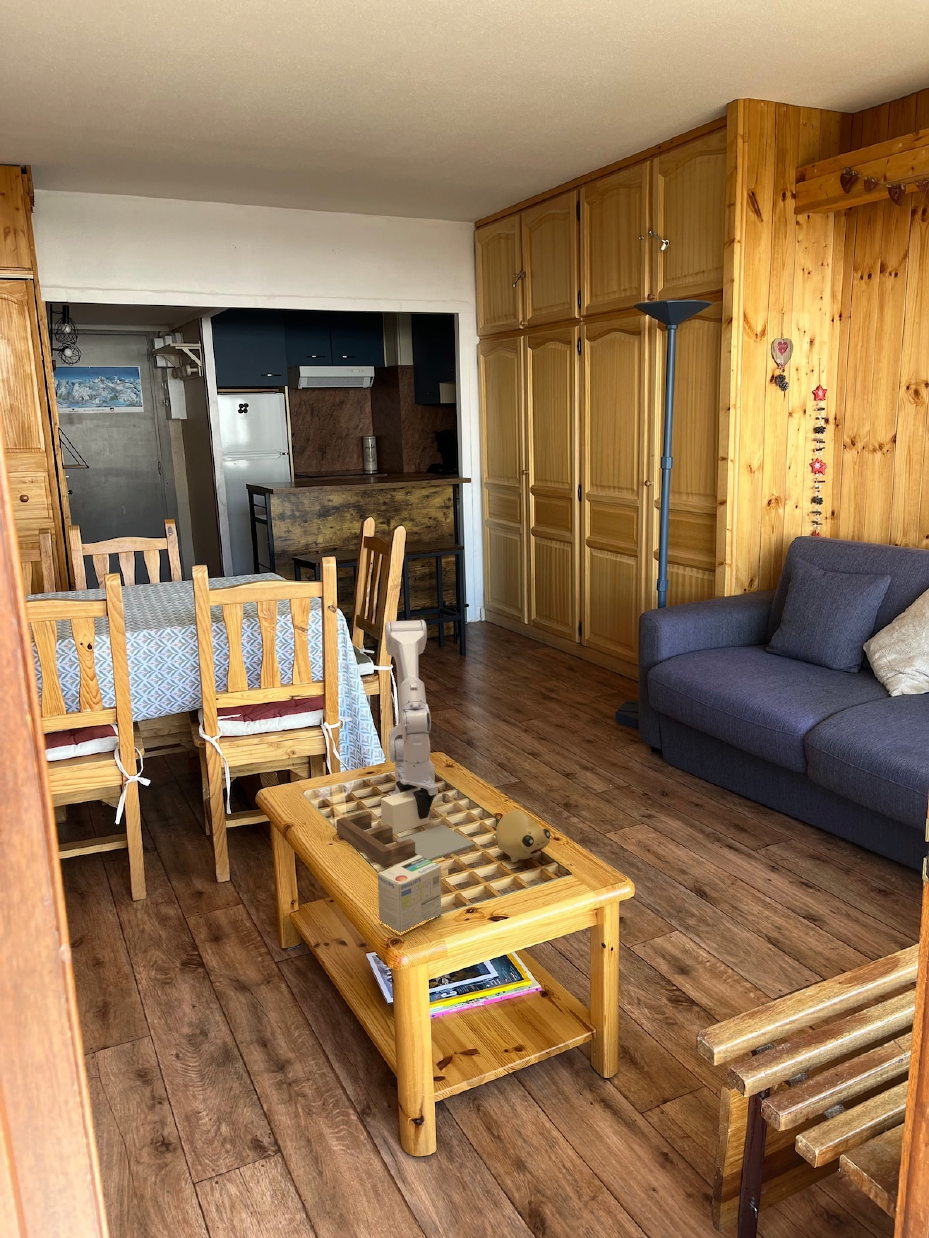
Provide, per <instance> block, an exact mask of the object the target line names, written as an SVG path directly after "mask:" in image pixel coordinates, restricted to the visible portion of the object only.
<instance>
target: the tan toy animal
mask: <svg viewBox="0 0 929 1238" xmlns="http://www.w3.org/2000/svg"><path fill="white" fill-rule="evenodd" d="M495 836H496V840H497V841H496V842H497V843H498V845H497V848H498V849H499V850H500V851H501V850H502V852H503V853H504V854H506V855H507V856H508V857H510V861H511V863H513V862H516V861H517V862H518V861H519V860H528V859H531V858H533V856H534V855H535V854H536V855H537V854H538V853H539V852H540V851H542V850H544V849H545V848H547V846H548V845H549V844H550V840H551V832H550V830H549V829H548V828H542V827H541V826H540V825H539V824H538V823H537V822H536V821H535V820H534V819H533V818H532V817H531V816H530V815H529V814H528V813H526V812H525V811H524V810H522V809H519V808H518V809H517V808H516V809H512V810H510V811H508V812H506V813H505V814H504V815H503V816H502V817H501V819H500V820H499V821H498V823H497V825H496V830H495ZM536 855H535V856H536ZM535 856H534V857H535ZM517 862H516V863H517Z"/></svg>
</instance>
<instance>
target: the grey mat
mask: <svg viewBox="0 0 929 1238" xmlns="http://www.w3.org/2000/svg"><path fill="white" fill-rule="evenodd" d="M407 839H411V840H413V841H414V842H415V856H416V855H420V856H422V857H424V858H426V859H428V860H430V861H432V862H433V861H435V860H437V859H439V858H443V857H447V856H449V855H452V854H455V853H457V852H460V851H463V850H464V851H465V850H467V849H469V848H472V847H474V846H476V844H475V842H473V841H471V840H470V839H469V838H466V837H465V836H463V835H461V834H459V833H458V832H457V831H455V830H453V829H452V828H450V827H448V826H447V825H444V824H441V825H437V826H435V827H432V828H429V829H426V830H422V831H419V832H415V833H413V834H411V835H410V834H409V835H406V836H404V837H403V836H402V837H400V838H398V839H395V843H398V842H401V841H404V840H407Z"/></svg>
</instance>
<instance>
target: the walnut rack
mask: <svg viewBox="0 0 929 1238" xmlns="http://www.w3.org/2000/svg"><path fill="white" fill-rule="evenodd" d="M372 825H373V823H372V813H371V812H370V811H368V810H364V811H360V812H357V813H353V814H351V815H347V816H343V817H340V818H337V819H336V835H338V836H339V835H340V837H341V838H342V839H343V838H344V839H343V840H345V841H346V842H347V843H349V844H350V845H352V846H353V847H355V848H356V849H357V850H359V851H360V852H362V853H363V854H364V855H365V856H367V857H369V858H370V859H371V860H373V861H374V862H375V863H377V864H378V865H380V866H381V867H382V868H387V867H390V866H393V865H397V864H400V863H402V862H404V861H406V860H408V859H410V858H412V857H414V856H416V855H415V842H414V841H413V840H411V839H407V840H404V841H401V842H398V843H397V842H395V843H393V841H394V837H393V835H394V834H393V827H391V826H390V825H388V824H386V825H383V826H382V825H381V826H377V827H374V828H372ZM390 843H392V844H390ZM387 844H390V845H387Z"/></svg>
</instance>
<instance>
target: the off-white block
mask: <svg viewBox="0 0 929 1238" xmlns="http://www.w3.org/2000/svg"><path fill="white" fill-rule="evenodd" d="M418 790H420V789H418V788H415V789H412V790H408V791H405V792H401V793H398V794H395V795H388V796H384V797H381V798H380V813H381V814H380V816H381V818H380V819H381V820H380V822H381V826H383V825H386V824H388V825H390V826H391V827H393V835H395V834H398V833H401V832H405V831H408V830H412V829H415V828H418V827H421V826H423V825H427V824H429V823H430V814H429V815H428V817H427V818H424V819H420V818H419V815H418V807H417V802H416V799H415V796H414V794H413V792H414V791H418Z"/></svg>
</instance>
